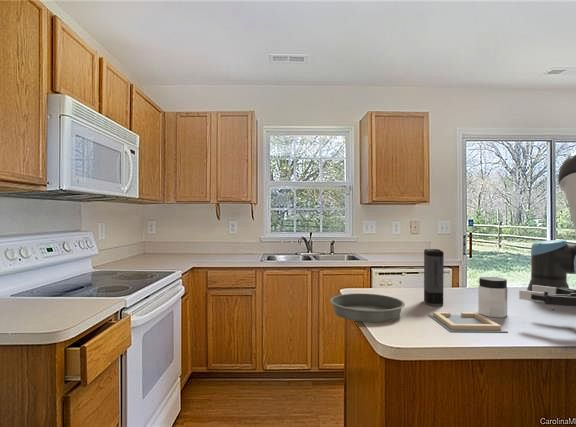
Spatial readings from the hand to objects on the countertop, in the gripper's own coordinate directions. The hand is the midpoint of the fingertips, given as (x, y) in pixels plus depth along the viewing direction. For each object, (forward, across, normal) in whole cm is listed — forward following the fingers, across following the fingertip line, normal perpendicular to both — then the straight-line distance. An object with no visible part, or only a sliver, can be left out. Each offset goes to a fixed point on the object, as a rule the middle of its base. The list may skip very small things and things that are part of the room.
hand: (526, 291), depth 121 cm
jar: (+10, 0, -9) cm, 14 cm away
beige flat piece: (+12, -17, -9) cm, 23 cm away
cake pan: (+40, -29, -10) cm, 50 cm away
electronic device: (+31, +2, -9) cm, 32 cm away
